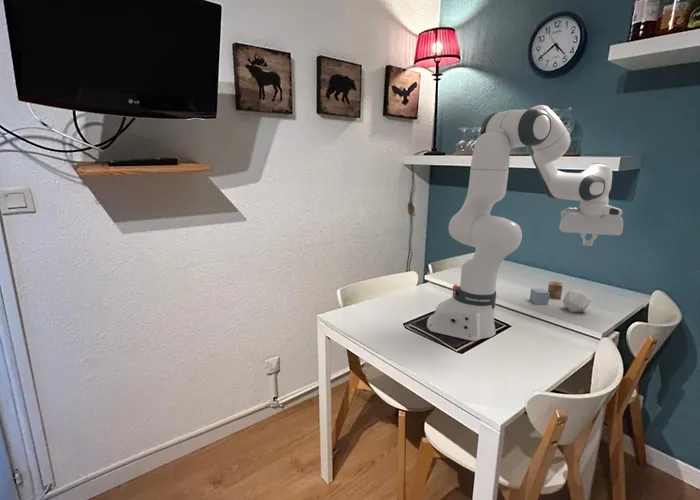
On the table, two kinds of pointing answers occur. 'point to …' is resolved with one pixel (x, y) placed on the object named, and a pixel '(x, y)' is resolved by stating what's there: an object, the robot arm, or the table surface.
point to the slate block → (539, 296)
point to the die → (576, 301)
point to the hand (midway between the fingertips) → (587, 245)
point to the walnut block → (555, 289)
